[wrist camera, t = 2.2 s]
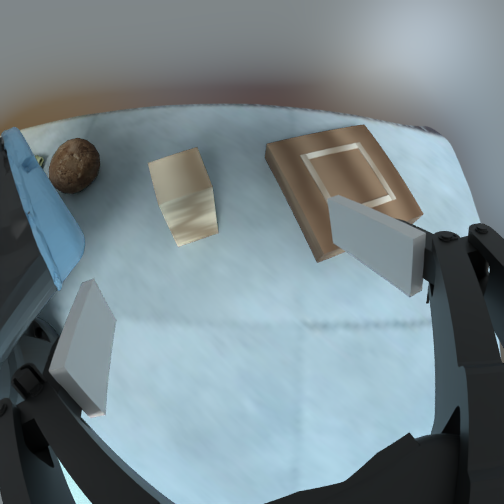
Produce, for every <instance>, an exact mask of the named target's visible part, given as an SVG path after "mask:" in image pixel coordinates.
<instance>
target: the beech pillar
mask: <svg viewBox="0 0 504 504" xmlns="http://www.w3.org/2000/svg"><path fill="white" fill-rule="evenodd" d="M148 166H149V170H150V174H151V178H152V182H153V186H154V190H155V194H156V198H157V201H158V205H159V207H160V209H161V212H162V214H163V216H164V218H165V220H166V222H167V224H168V227H169V229H170V231H171V233H172V235H173V237H174V239H175V241H176V243H177V245H178V247H180V246H182V245H185V244H188V243H191V242H194V241H197V240H200V239H203V238H206V237H208V236H211V235H214V234H217V233H218V226H217V219H216V211H215V203H214V195H213V187H212V184H211V181H210V179H209V176H208V174H207V171H206V169H205V166H204V163H203V161H202V158H201V156H200V153H199V150H198V148H197V147H196V148H192V149H189V150H186V151H183V152H179V153H176V154H173V155H170V156H167V157H164V158H161V159H158V160H155V161H152V162H150V163H148Z"/></svg>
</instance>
